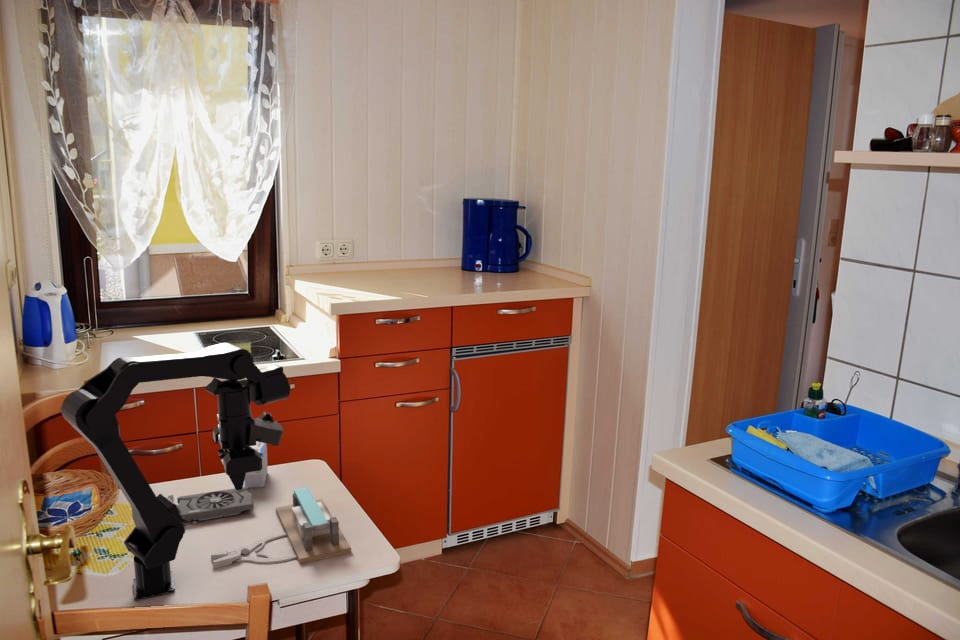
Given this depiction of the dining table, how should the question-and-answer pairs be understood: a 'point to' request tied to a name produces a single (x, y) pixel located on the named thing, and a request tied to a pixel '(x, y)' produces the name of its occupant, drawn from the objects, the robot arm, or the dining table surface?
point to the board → (316, 541)
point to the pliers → (235, 555)
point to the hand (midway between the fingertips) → (238, 488)
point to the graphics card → (213, 504)
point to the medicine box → (258, 477)
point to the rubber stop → (295, 501)
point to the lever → (311, 509)
